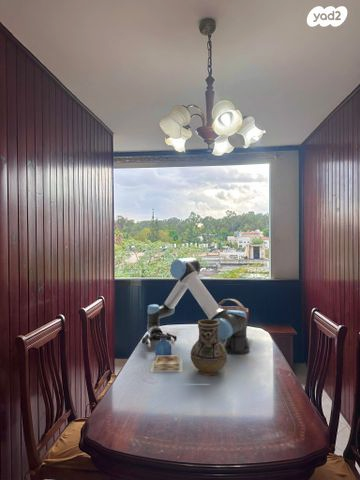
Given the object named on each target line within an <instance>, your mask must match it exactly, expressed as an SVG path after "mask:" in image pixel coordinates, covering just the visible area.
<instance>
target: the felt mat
mask: <svg viewBox="0 0 360 480" xmlns="http://www.w3.org/2000/svg"><path fill="white" fill-rule="evenodd" d="M154 362H155V359H153V360H152V364H151V367H150V370H149V372H150V373H182V372H183V369H184V368H183V367H184V365H183V364H184V360H183V359H179V370H154Z"/></svg>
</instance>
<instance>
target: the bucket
mask: <svg viewBox="0 0 360 480" xmlns="http://www.w3.org/2000/svg"><path fill="white" fill-rule="evenodd" d="M226 301H231V302H233V303H235V304H236V305H235V306H234V305H231V306H229V305H228V306H223V304H225V302H226ZM217 304H218V305H219V307H220V308H221V309H224V310H225V311H227V310H237V311H243V312H245V313H246V317H247V321H246V330H247V329H248V322H249V318H250V313H249V308H247V307H245V306H244V305H243V304H242V303H241V302H240V301H238V300H237V299H235V298H226V299H225V298H224V299H222V300H221V301H220V302H219V303H217ZM223 341H224V342H225V339H223Z"/></svg>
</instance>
